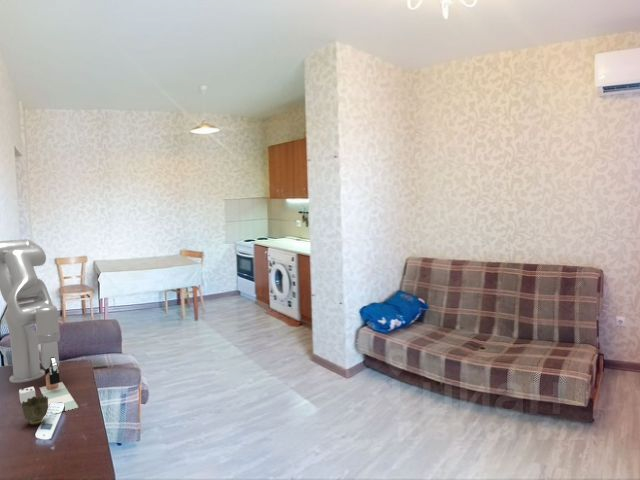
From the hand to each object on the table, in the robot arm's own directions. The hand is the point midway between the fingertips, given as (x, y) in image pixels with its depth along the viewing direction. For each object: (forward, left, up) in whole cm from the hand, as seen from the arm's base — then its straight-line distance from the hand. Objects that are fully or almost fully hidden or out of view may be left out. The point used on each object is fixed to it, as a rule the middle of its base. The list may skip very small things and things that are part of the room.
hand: (52, 380), depth 173 cm
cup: (+28, -9, -4) cm, 30 cm away
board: (+10, 0, -4) cm, 11 cm away
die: (+6, -9, -4) cm, 12 cm away
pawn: (-1, 0, -3) cm, 3 cm away
